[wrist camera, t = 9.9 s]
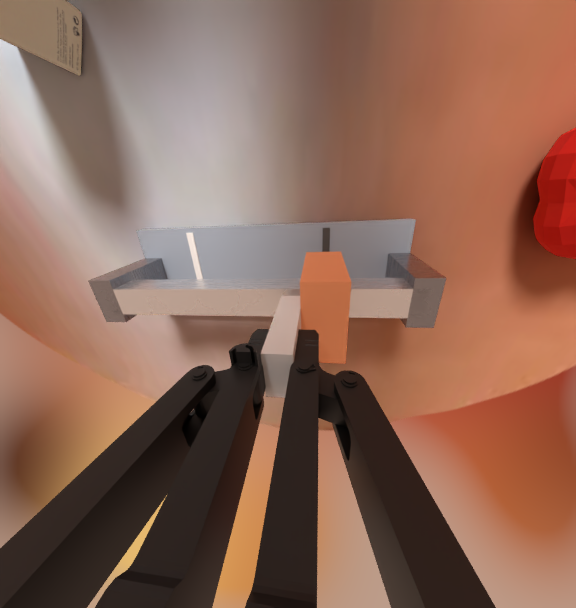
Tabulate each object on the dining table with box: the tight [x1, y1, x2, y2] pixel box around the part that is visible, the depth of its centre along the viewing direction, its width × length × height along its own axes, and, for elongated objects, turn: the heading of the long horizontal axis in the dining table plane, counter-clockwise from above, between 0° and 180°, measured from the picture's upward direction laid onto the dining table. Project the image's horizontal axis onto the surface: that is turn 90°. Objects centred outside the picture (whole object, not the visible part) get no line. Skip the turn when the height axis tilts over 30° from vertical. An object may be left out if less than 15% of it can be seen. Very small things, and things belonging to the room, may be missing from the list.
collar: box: [300, 251, 351, 364], centre depth 18 cm, size 3×6×8 cm, turn 3°
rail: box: [89, 253, 446, 328], centre depth 22 cm, size 28×4×7 cm, turn 93°
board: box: [136, 219, 416, 279], centre depth 25 cm, size 28×10×1 cm, turn 93°
